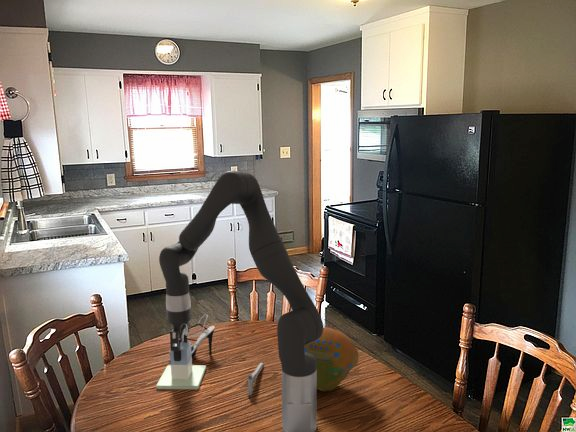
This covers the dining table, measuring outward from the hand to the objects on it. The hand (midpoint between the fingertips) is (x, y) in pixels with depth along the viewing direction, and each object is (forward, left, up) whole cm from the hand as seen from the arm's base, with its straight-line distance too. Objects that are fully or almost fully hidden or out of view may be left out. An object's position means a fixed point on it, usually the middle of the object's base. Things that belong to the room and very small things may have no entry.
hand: (181, 354), depth 156 cm
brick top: (0, 0, -2) cm, 2 cm away
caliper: (0, -24, -9) cm, 26 cm away
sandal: (+16, 0, -9) cm, 18 cm away
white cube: (0, 0, -7) cm, 7 cm away
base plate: (0, 0, -8) cm, 8 cm away
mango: (-4, -46, -9) cm, 47 cm away
